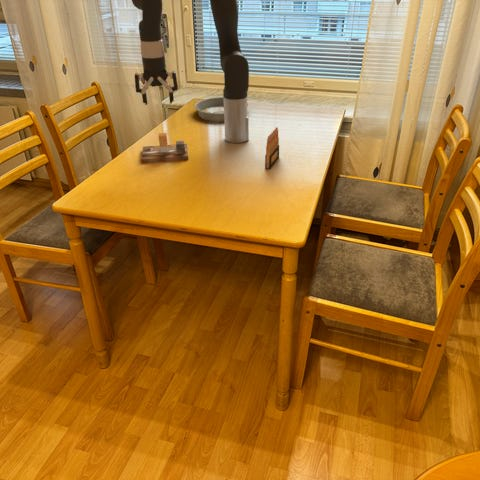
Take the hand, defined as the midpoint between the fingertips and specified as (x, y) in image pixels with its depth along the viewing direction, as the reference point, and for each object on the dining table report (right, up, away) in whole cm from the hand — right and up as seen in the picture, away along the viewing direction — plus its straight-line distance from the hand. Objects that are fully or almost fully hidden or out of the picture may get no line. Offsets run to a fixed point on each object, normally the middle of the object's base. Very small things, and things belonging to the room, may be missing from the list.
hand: (158, 103), depth 160 cm
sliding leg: (0, -14, +12) cm, 18 cm away
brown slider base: (0, -16, +14) cm, 21 cm away
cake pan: (+20, +10, +51) cm, 56 cm away
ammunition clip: (+40, -20, +6) cm, 45 cm away
